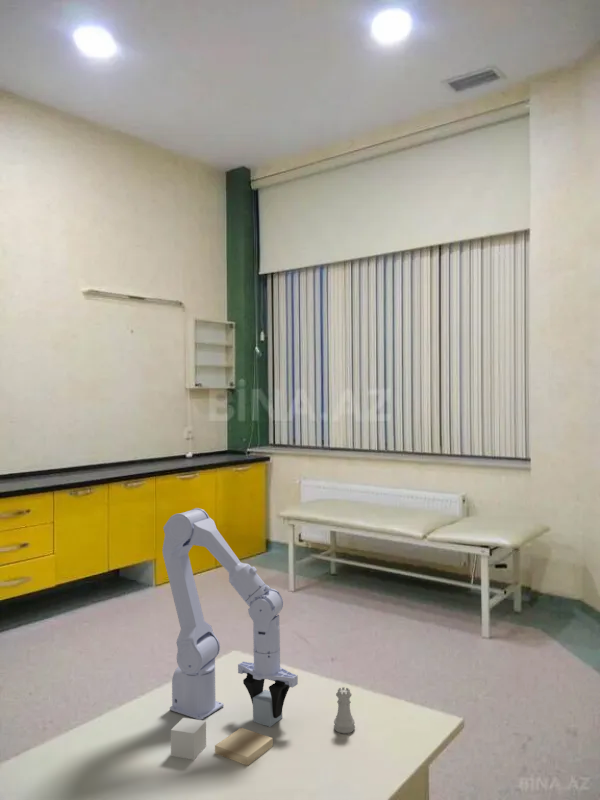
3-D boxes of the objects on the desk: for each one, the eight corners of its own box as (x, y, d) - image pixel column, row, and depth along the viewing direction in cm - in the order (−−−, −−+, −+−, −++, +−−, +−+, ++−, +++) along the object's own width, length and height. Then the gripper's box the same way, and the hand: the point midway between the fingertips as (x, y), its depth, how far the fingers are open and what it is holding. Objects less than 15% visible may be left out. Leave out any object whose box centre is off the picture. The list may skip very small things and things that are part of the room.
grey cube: (171, 756, 116) (170, 729, 116) (183, 743, 121) (183, 717, 121) (194, 760, 115) (194, 733, 115) (206, 746, 119) (205, 720, 120)
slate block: (253, 721, 129) (252, 697, 129) (265, 712, 133) (265, 689, 133) (270, 726, 127) (269, 702, 127) (282, 718, 130) (282, 694, 131)
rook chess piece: (353, 735, 123) (353, 695, 123) (332, 733, 124) (331, 693, 124) (356, 724, 127) (355, 686, 127) (335, 722, 128) (334, 684, 128)
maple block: (215, 755, 117) (215, 745, 117) (241, 737, 124) (241, 727, 124) (247, 768, 112) (247, 757, 113) (272, 748, 119) (272, 738, 119)
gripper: (228, 648, 131) (229, 712, 130) (284, 661, 123) (285, 729, 123) (248, 638, 137) (249, 699, 136) (302, 650, 129) (303, 715, 128)
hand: (267, 713), depth 130 cm, fingers closed on slate block, 4 cm apart
